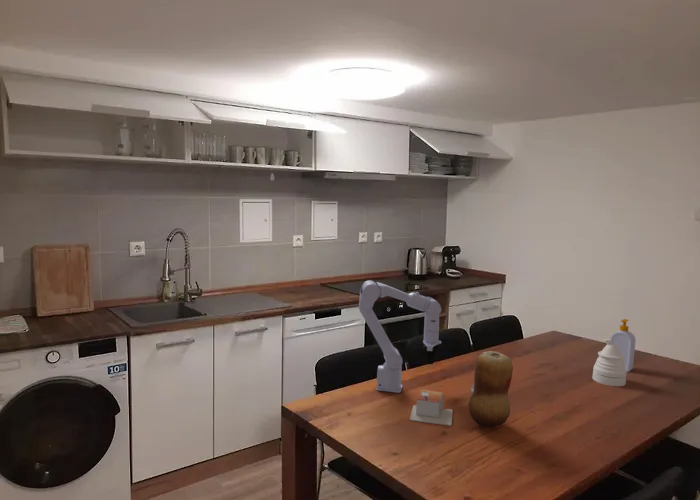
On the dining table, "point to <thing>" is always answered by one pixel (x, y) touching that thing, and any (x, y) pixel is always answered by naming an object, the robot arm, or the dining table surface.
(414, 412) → the mat
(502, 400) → the butternut squash
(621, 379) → the honey pot
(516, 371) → the dining table surface
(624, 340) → the soap bottle
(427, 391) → the small box
